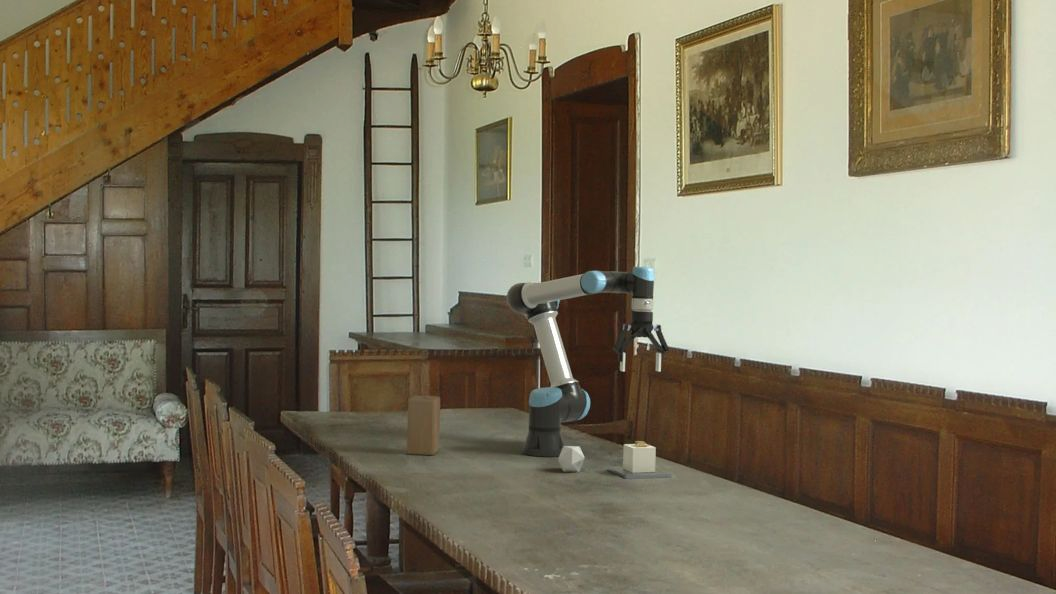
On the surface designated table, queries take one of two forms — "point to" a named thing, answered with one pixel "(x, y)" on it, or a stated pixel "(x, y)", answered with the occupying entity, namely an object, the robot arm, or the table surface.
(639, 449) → the cream open box
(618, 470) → the base plate
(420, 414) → the wooden block
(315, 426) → the table surface
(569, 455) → the die
